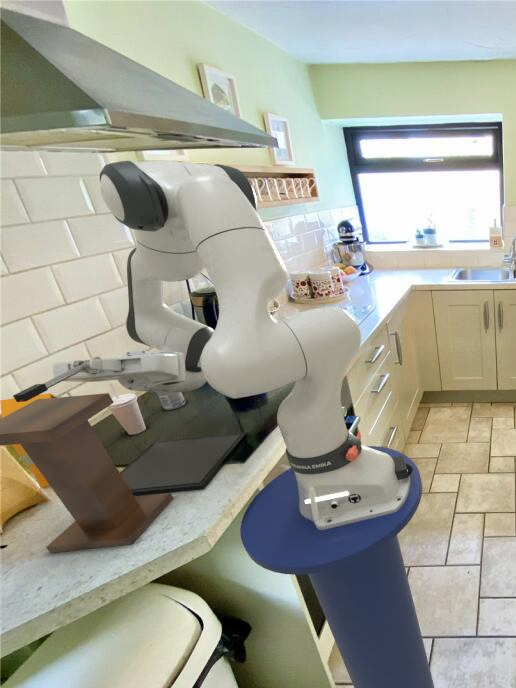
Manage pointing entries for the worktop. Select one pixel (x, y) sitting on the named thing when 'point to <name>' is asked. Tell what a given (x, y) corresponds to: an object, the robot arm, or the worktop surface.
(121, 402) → the smoothie
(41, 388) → the stylus
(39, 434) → the brown wooden pedestal
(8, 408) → the orange juice
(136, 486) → the tablet
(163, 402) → the energy drink
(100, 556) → the worktop surface
